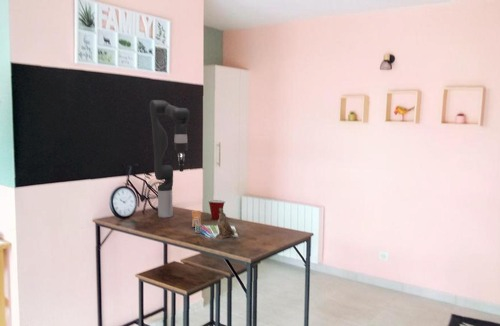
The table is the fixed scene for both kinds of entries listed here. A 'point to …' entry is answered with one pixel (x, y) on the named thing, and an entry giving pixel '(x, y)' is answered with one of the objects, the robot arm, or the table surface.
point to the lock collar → (196, 216)
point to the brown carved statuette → (223, 226)
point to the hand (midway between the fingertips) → (181, 171)
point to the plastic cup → (215, 208)
